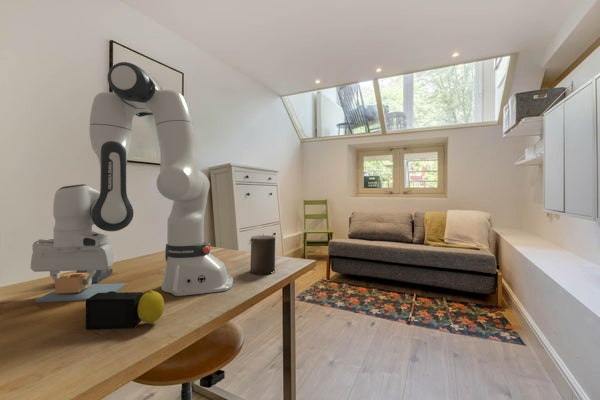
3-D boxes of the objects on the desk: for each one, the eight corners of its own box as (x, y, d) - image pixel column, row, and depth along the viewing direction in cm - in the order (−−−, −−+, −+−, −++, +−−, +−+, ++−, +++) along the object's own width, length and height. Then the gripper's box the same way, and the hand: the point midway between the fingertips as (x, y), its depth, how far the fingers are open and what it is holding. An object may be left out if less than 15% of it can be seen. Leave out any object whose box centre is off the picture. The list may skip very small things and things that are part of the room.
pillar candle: (273, 275, 104) (274, 235, 103) (247, 274, 104) (248, 235, 104) (275, 268, 113) (276, 232, 113) (252, 267, 114) (253, 231, 113)
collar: (90, 285, 85) (90, 272, 85) (78, 292, 79) (78, 278, 79) (68, 286, 84) (68, 273, 84) (55, 293, 78) (55, 279, 78)
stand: (112, 274, 101) (112, 235, 100) (97, 283, 91) (97, 239, 90) (81, 275, 99) (81, 235, 98) (63, 284, 89) (63, 240, 89)
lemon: (152, 331, 61) (152, 295, 61) (131, 328, 62) (131, 293, 62) (169, 319, 66) (169, 287, 66) (149, 317, 68) (149, 285, 67)
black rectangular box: (145, 317, 68) (145, 289, 67) (134, 328, 62) (134, 298, 62) (100, 318, 66) (100, 290, 66) (85, 330, 61) (85, 299, 61)
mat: (126, 284, 90) (126, 283, 90) (107, 299, 78) (107, 297, 78) (64, 287, 86) (64, 285, 86) (34, 302, 75) (34, 300, 75)
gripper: (24, 241, 76) (24, 290, 77) (105, 240, 80) (105, 287, 80) (41, 237, 82) (41, 282, 83) (115, 236, 86) (115, 280, 87)
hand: (73, 284), depth 82 cm, fingers closed on collar, 6 cm apart
